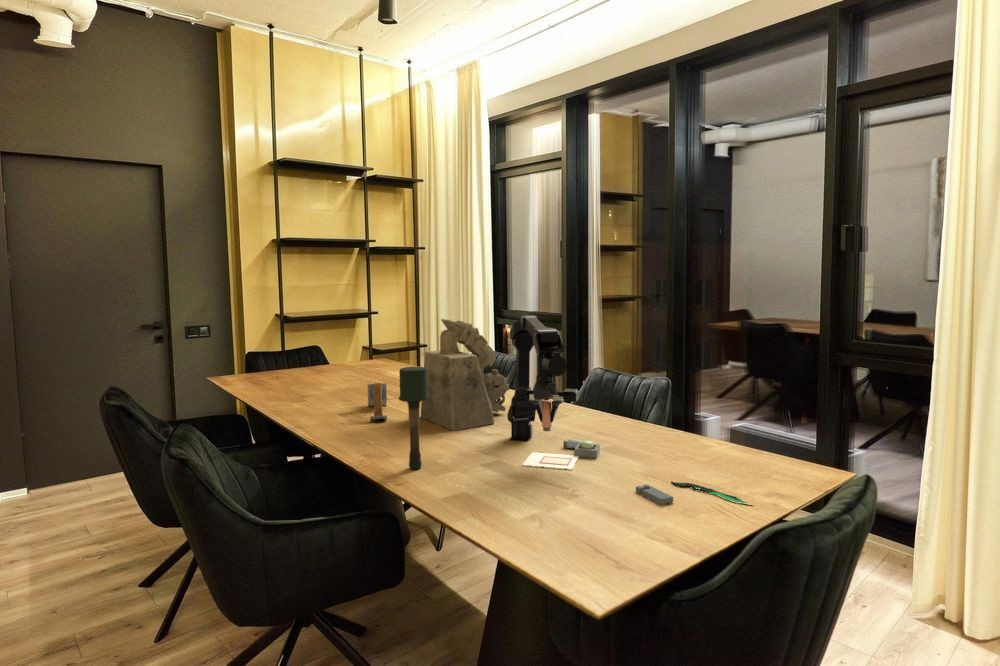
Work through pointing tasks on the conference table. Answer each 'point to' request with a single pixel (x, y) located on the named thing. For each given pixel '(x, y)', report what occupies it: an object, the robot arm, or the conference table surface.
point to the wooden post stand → (377, 399)
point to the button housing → (587, 451)
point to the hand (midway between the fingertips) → (546, 422)
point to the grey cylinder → (571, 443)
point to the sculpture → (462, 380)
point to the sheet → (551, 461)
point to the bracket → (654, 494)
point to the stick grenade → (413, 406)
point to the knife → (708, 491)
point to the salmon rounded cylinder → (546, 415)
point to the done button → (587, 444)
